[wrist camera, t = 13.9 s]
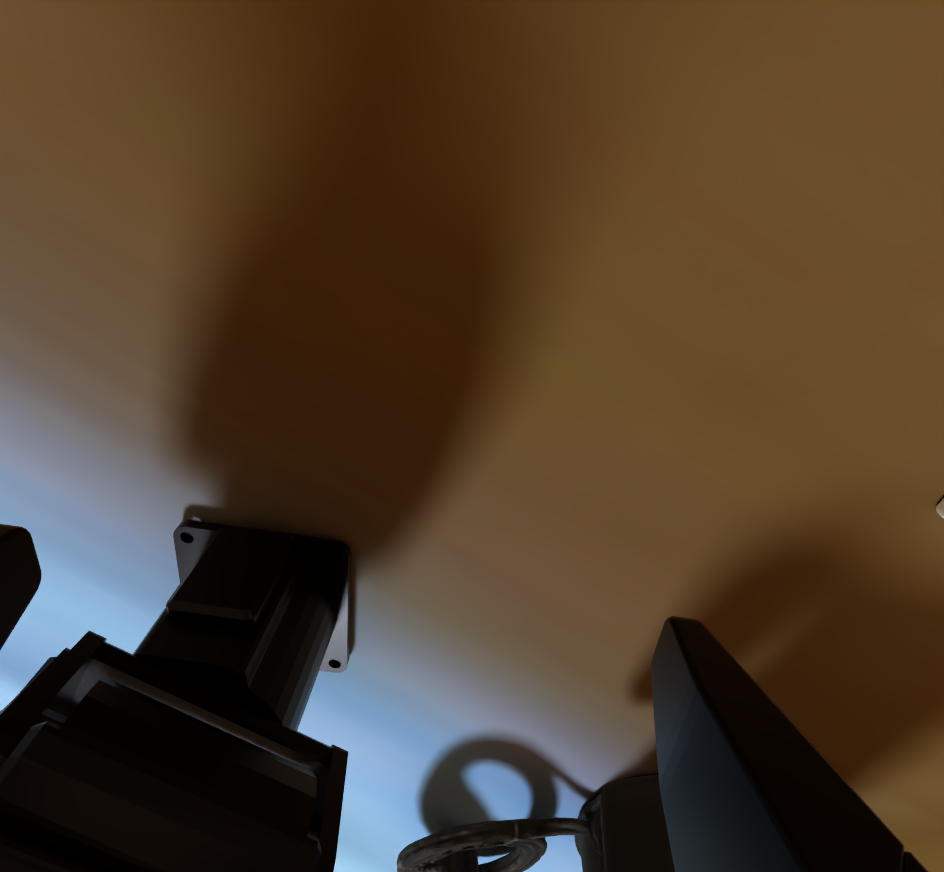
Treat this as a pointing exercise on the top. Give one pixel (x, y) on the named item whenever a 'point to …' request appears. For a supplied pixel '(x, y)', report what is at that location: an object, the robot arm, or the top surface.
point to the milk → (940, 508)
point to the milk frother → (596, 834)
